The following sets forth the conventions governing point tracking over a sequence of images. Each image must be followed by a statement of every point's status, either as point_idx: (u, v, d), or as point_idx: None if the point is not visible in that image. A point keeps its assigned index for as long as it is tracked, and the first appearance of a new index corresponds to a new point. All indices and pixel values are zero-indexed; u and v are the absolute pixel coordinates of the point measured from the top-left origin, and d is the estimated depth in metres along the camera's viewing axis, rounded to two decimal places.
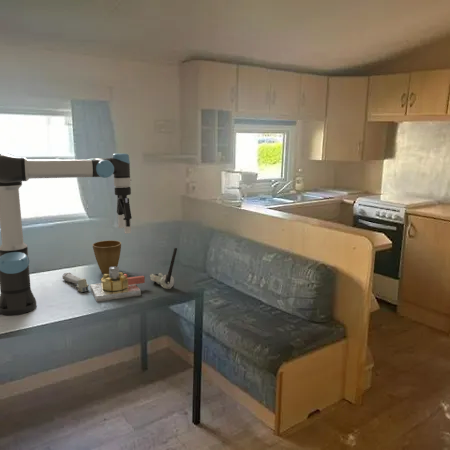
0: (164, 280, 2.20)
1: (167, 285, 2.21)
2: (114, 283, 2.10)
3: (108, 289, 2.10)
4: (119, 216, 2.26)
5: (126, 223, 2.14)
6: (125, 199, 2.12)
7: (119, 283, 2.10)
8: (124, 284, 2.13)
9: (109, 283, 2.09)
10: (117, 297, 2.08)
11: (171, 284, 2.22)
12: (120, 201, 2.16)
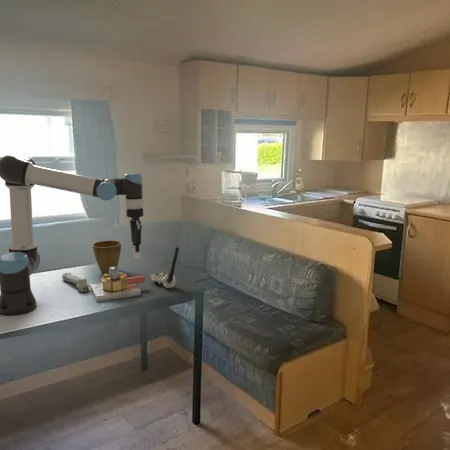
0: (166, 280, 2.21)
1: (169, 284, 2.22)
2: (114, 283, 2.10)
3: (108, 289, 2.10)
4: None
5: (135, 249, 2.10)
6: (137, 227, 2.03)
7: (119, 283, 2.10)
8: (124, 284, 2.13)
9: (109, 283, 2.09)
10: (117, 297, 2.08)
11: (173, 283, 2.23)
12: (132, 224, 2.07)
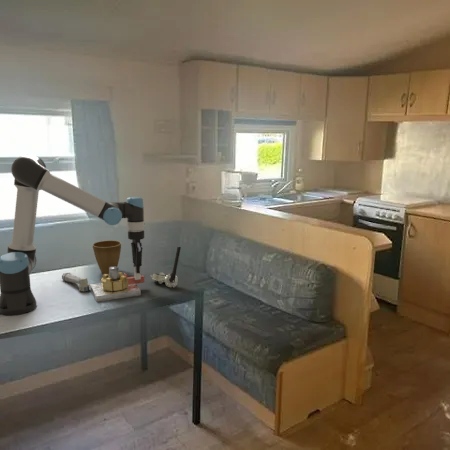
0: (169, 279, 2.21)
1: (172, 284, 2.23)
2: (115, 283, 2.10)
3: (109, 289, 2.10)
4: None
5: (136, 270, 2.16)
6: (138, 249, 2.10)
7: (120, 283, 2.11)
8: (124, 284, 2.13)
9: (110, 283, 2.09)
10: (117, 297, 2.08)
11: (175, 283, 2.24)
12: (133, 246, 2.13)
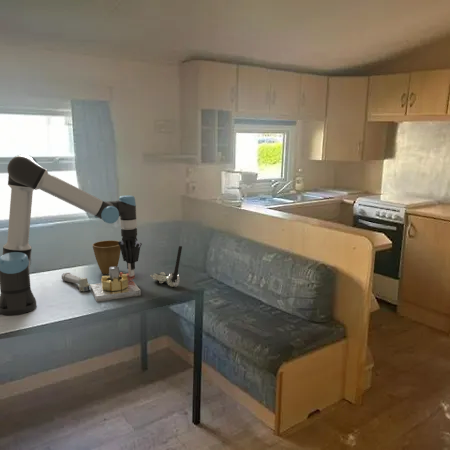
0: (171, 278, 2.22)
1: (174, 283, 2.24)
2: (123, 281, 2.12)
3: (117, 289, 2.11)
4: None
5: (132, 266, 2.22)
6: (139, 245, 2.18)
7: (126, 281, 2.14)
8: None
9: (118, 282, 2.10)
10: (117, 297, 2.08)
11: (177, 282, 2.25)
12: (130, 244, 2.19)
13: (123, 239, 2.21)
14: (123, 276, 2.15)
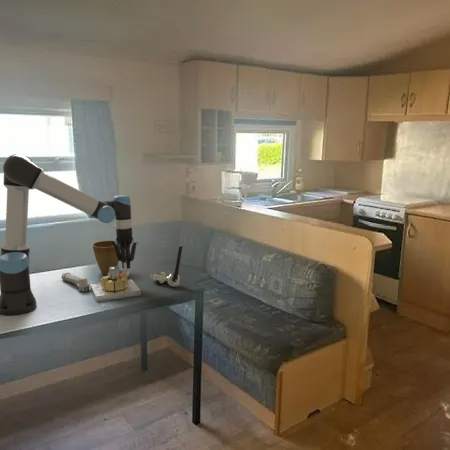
0: (171, 278, 2.23)
1: (174, 283, 2.24)
2: (125, 281, 2.13)
3: (120, 288, 2.11)
4: None
5: (128, 265, 2.23)
6: (136, 244, 2.20)
7: (127, 280, 2.15)
8: None
9: (121, 282, 2.11)
10: (117, 297, 2.08)
11: (177, 282, 2.25)
12: (126, 243, 2.20)
13: (118, 239, 2.22)
14: (123, 275, 2.16)
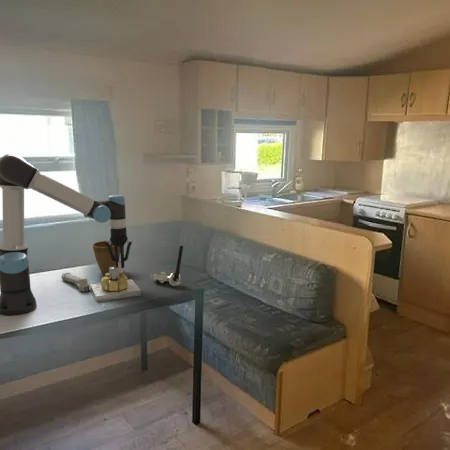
0: (173, 278, 2.23)
1: (175, 283, 2.25)
2: (126, 279, 2.15)
3: (123, 287, 2.13)
4: None
5: (122, 265, 2.24)
6: (131, 243, 2.22)
7: (127, 279, 2.17)
8: None
9: (124, 281, 2.13)
10: (117, 297, 2.08)
11: (178, 281, 2.26)
12: (121, 242, 2.21)
13: (112, 239, 2.21)
14: (122, 275, 2.17)
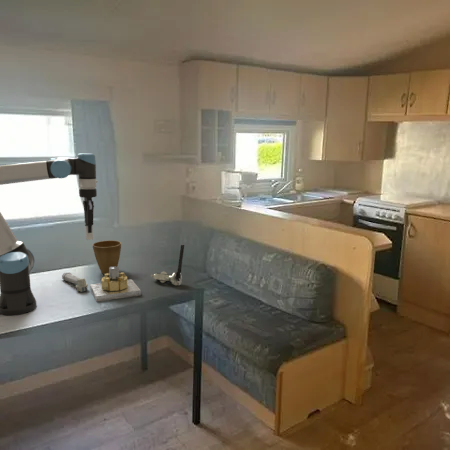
0: (175, 277, 2.24)
1: (177, 282, 2.26)
2: None
3: (124, 287, 2.13)
4: None
5: (88, 229, 2.09)
6: (89, 207, 2.03)
7: None
8: None
9: (125, 280, 2.13)
10: (117, 297, 2.08)
11: (180, 280, 2.27)
12: (84, 204, 2.06)
13: (84, 199, 2.10)
14: (122, 274, 2.18)
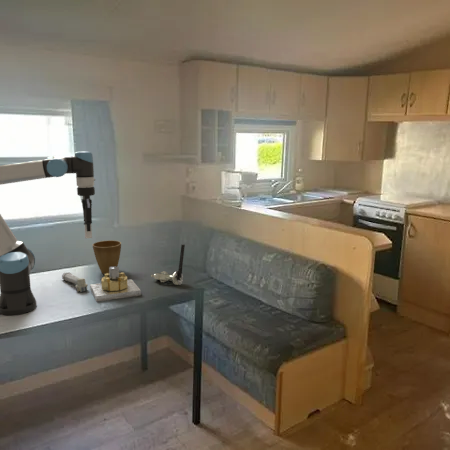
0: (176, 277, 2.25)
1: (178, 281, 2.26)
2: None
3: (124, 287, 2.13)
4: None
5: (87, 228, 2.09)
6: (87, 205, 2.02)
7: None
8: None
9: (125, 280, 2.13)
10: (117, 297, 2.08)
11: (181, 280, 2.28)
12: (83, 203, 2.05)
13: (83, 198, 2.10)
14: (122, 274, 2.18)
